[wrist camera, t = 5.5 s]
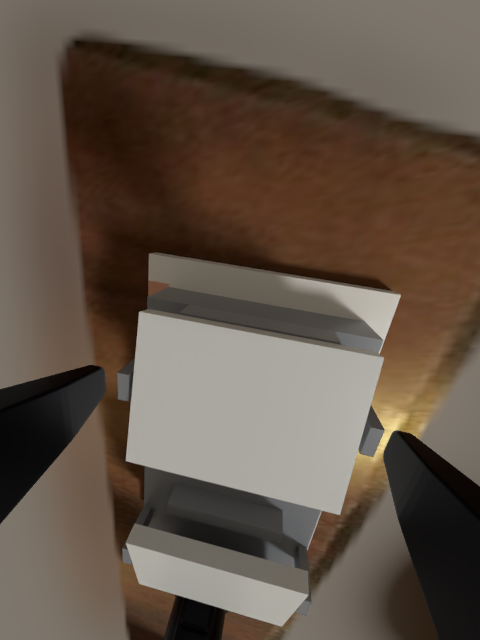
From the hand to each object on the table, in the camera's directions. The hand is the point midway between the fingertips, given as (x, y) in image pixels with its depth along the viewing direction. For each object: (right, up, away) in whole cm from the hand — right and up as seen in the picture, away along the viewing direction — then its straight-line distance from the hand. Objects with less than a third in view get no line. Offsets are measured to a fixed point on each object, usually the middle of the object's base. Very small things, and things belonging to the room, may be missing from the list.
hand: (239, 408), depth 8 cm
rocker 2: (-2, -15, +10) cm, 18 cm away
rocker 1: (0, -2, +5) cm, 5 cm away
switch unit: (0, -6, +14) cm, 15 cm away
